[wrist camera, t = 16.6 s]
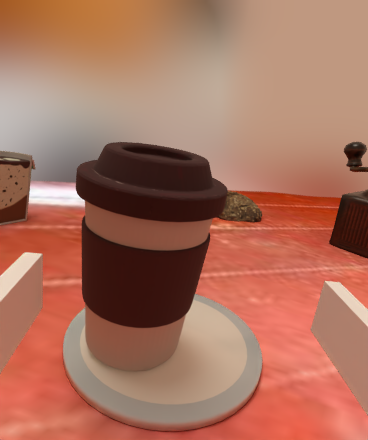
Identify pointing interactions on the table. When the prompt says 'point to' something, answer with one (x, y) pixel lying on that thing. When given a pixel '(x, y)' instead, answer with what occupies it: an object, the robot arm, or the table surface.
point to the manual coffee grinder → (353, 210)
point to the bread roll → (240, 209)
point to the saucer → (173, 373)
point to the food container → (14, 186)
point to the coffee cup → (143, 248)
